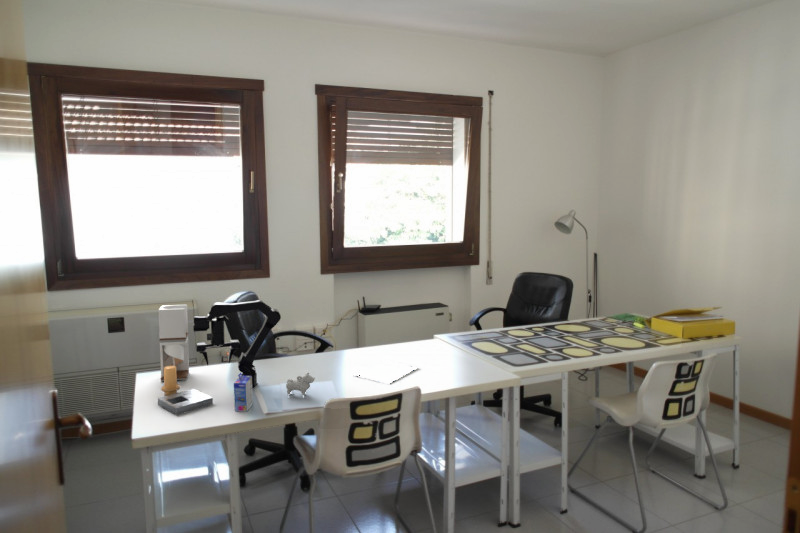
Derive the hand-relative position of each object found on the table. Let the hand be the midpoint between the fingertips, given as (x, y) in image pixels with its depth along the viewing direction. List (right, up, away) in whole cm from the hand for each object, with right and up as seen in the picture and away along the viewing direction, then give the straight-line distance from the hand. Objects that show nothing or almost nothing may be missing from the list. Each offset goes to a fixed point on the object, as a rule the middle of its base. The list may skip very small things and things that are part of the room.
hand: (218, 363), depth 239 cm
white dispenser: (-27, -10, +16) cm, 33 cm away
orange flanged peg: (-18, -13, -8) cm, 24 cm away
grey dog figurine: (+38, -14, -5) cm, 41 cm away
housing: (-8, -14, -18) cm, 24 cm away
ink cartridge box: (+17, -15, -19) cm, 30 cm away
